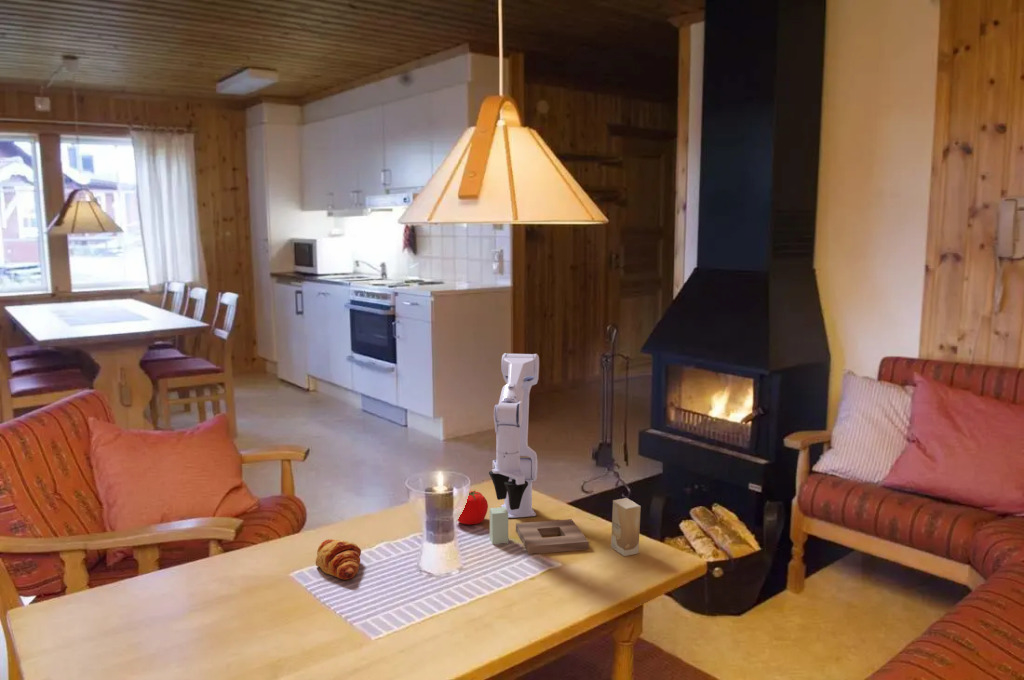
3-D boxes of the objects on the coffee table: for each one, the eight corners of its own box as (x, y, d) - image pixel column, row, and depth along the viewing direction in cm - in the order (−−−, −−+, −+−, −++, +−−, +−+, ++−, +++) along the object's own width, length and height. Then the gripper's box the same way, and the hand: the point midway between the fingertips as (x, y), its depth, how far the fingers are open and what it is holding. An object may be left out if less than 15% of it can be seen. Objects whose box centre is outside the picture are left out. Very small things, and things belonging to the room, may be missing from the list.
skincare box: (610, 547, 193) (611, 499, 191) (625, 544, 195) (626, 497, 193) (624, 557, 187) (625, 508, 186) (639, 554, 189) (641, 505, 187)
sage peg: (489, 538, 198) (489, 508, 197) (505, 537, 199) (505, 507, 198) (492, 544, 195) (492, 513, 193) (508, 543, 195) (508, 512, 194)
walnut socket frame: (515, 530, 203) (515, 523, 203) (571, 526, 206) (571, 519, 206) (528, 554, 189) (528, 546, 188) (588, 549, 192) (588, 541, 192)
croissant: (315, 566, 190) (299, 541, 188) (350, 540, 194) (334, 515, 191) (340, 600, 172) (322, 573, 169) (379, 571, 176) (361, 544, 173)
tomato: (448, 527, 206) (447, 496, 204) (459, 513, 215) (459, 484, 214) (482, 530, 203) (482, 499, 202) (492, 516, 213) (492, 486, 212)
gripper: (481, 445, 197) (481, 496, 199) (505, 460, 184) (505, 516, 186) (506, 441, 200) (506, 492, 202) (532, 457, 187) (532, 511, 189)
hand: (508, 503), depth 194 cm, fingers open, 7 cm apart
